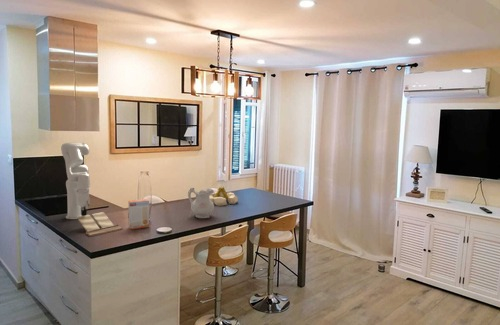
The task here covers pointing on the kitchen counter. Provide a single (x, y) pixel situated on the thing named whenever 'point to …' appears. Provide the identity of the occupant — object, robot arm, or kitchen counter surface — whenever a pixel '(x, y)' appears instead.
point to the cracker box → (138, 214)
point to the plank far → (102, 220)
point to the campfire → (223, 197)
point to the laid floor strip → (103, 230)
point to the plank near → (88, 222)
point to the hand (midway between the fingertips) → (84, 215)
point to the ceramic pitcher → (201, 203)
